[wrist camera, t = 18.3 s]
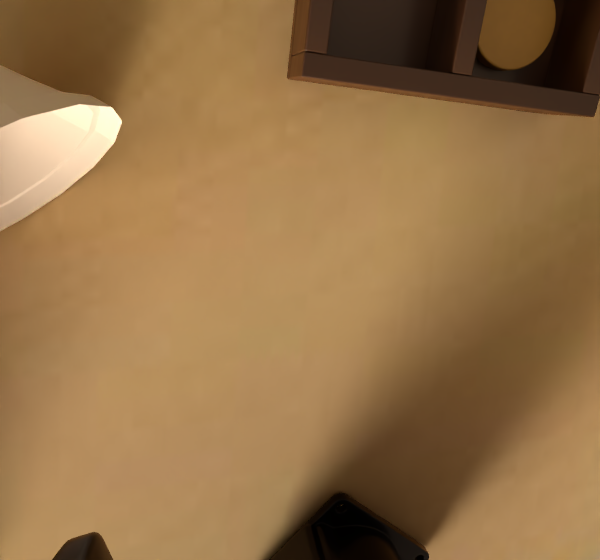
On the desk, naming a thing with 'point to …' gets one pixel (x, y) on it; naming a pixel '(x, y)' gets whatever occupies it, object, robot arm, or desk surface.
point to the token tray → (445, 53)
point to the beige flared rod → (46, 142)
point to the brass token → (515, 32)
